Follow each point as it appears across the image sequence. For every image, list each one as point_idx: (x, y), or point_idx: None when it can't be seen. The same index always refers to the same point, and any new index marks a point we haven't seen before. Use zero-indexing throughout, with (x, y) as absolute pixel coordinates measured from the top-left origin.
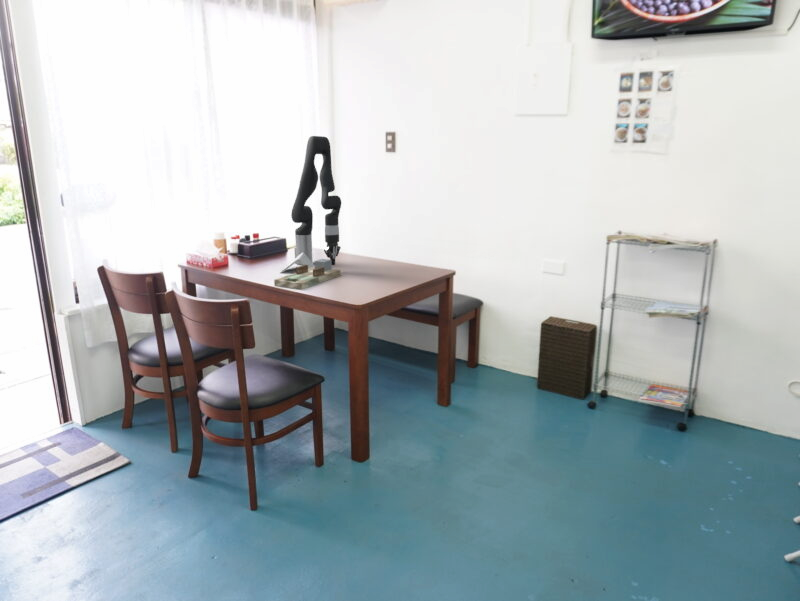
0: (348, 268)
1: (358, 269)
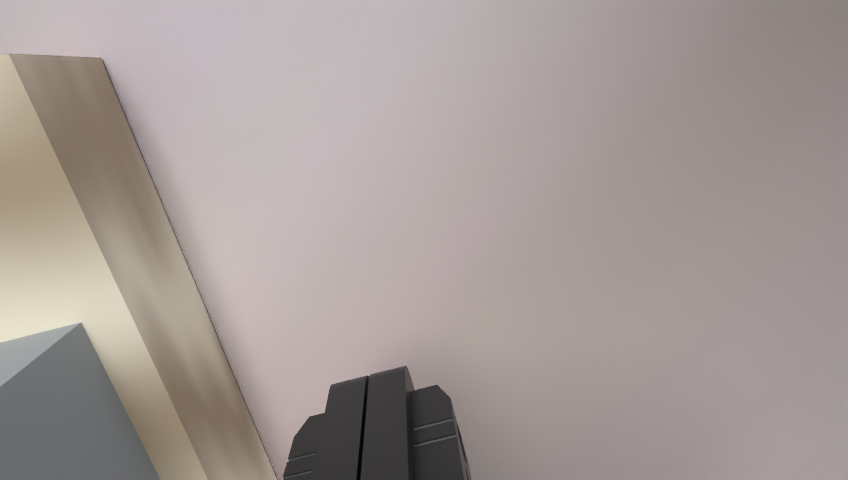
0: (823, 293)
1: (842, 465)
